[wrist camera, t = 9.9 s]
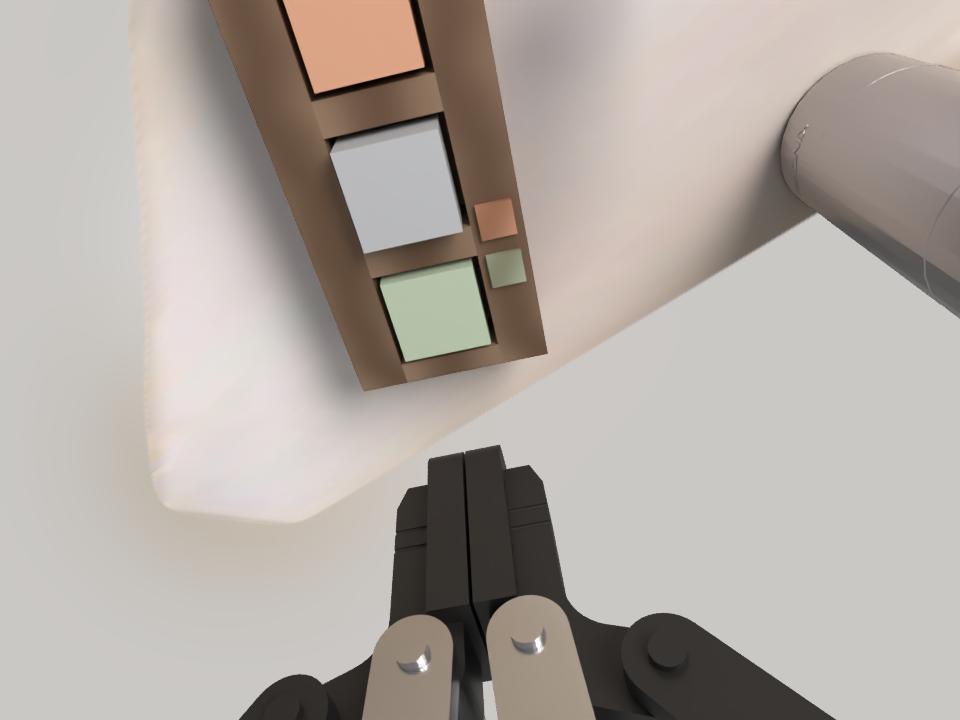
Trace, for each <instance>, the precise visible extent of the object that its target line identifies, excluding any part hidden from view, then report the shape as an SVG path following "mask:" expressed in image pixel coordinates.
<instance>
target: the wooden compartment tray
mask: <svg viewBox="0 0 960 720" xmlns="http://www.w3.org/2000/svg"><path fill="white" fill-rule="evenodd" d="M208 1H209V4H210V6H211V9H212V11H213V14H214V16H215V19H216V21H217V24H218V26H219V29H220V31H221V34H222V36H223V39H224V41H225V44H226V46H227V49H228V51H229V54H230V56H231V59H232V61H233V64H234V66H235V69H236V71H237V74H238V77H239V79H240V82H241V84H242V87H243V89H244V92H245V94H246V97H247V99H248V102H249V104H250V107H251V109H252V112H253V114H254V117H255V119H256V122H257V124H258V127H259V129H260V132H261V134H262V137H263V139H264V142H265V144H266V147H267V149H268V152H269V154H270V157H271V159H272V162H273V164H274V167H275V170H276V172H277V175H278V177H279V180H280V182H281V185H282V187H283V190H284V192H285V195H286V197H287V200H288V202H289V205H290V207H291V210H292V212H293V215H294V217H295V220H296V222H297V225H298V227H299V230H300V232H301V235H302V237H303V240H304V242H305V245H306V247H307V250H308V252H309V255H310V257H311V260H312V263H313V265H314V268H315V270H316V273H317V275H318V278H319V280H320V283H321V285H322V288H323V290H324V293H325V295H326V298H327V300H328V303H329V305H330V308H331V310H332V313H333V315H334V318H335V320H336V323H337V325H338V328H339V330H340V333H341V335H342V338H343V340H344V343H345V345H346V348H347V350H348V353H349V356H350V358H351V361H352V363H353V366H354V368H355V371H356V373H357V376H358V378H359V381H360V383H361V386H362V388H363V391H369V390H374V389H378V388H383V387H388V386H393V385H398V384H403V383H408V382H412V381H417V380H422V379H427V378H432V377H437V376H442V375H446V374H451V373H456V372H461V371H466V370H471V369H476V368H480V367H485V366H490V365H495V364H500V363H505V362H510V361H514V360H519V359H524V358H529V357H534V356H539V355H544V354H548V353H547V347H546V342H545V336H544V331H543V325H542V320H541V314H540V309H539V303H538V298H537V292H536V287H535V281H534V276H533V270H532V265H531V259H530V254H529V248H528V243H527V237H526V232H525V226H524V221H523V215H522V210H521V204H520V199H519V193H518V188H517V182H516V177H515V171H514V166H513V160H512V155H511V150H510V144H509V139H508V133H507V128H506V122H505V117H504V111H503V106H502V100H501V95H500V89H499V84H498V78H497V73H496V67H495V62H494V56H493V51H492V45H491V40H490V34H489V29H488V23H487V18H486V12H485V7H484V1H483V0H412V2H413V7H414V11H415V15H416V19H417V23H418V28H419V32H420V36H421V40H422V44H423V49H424V53H425V66H424V67H423V68H419V69H414V70H410V71H406V72H402V73H398V74H394V75H390V76H386V77H381V78H377V79H373V80H369V81H365V82H361V83H357V84H352V85H348V86H344V87H340V88H336V89H332V90H328V91H323V92H319V93H314V90H313V87H312V84H311V81H310V78H309V75H308V72H307V69H306V66H305V63H304V60H303V57H302V54H301V52H300V49H299V46H298V43H297V40H296V37H295V34H294V31H293V28H292V25H291V22H290V19H289V16H288V13H287V10H286V7H285V4H284V1H283V0H208ZM434 114H438V117H439V121H440V125H441V129H442V133H443V138H444V142H445V146H446V150H447V154H448V159H449V163H450V167H451V171H452V175H453V179H454V184H455V188H456V192H457V196H458V200H459V205H460V209H461V216H462V228H463V232H460V233H455V234H451V235H446V236H442V237H437V238H432V239H428V240H423V241H419V242H414V243H410V244H405V245H401V246H396V247H392V248H387V249H383V250H378V251H374V252H369V253H365V254H364V252H363V249H362V246H361V243H360V240H359V237H358V234H357V232H356V229H355V226H354V223H353V220H352V217H351V214H350V211H349V208H348V205H347V202H346V200H345V197H344V194H343V191H342V188H341V185H340V182H339V179H338V176H337V173H336V170H335V168H334V165H333V162H332V159H331V156H330V153H331V151H332V149H333V146H334V144H335V142H336V140H337V138H338V137H341V136H345V135H350V134H354V133H358V132H362V131H367V130H371V129H375V128H379V127H384V126H388V125H392V124H396V123H401V122H405V121H409V120H413V119H417V118H422V117H426V116H430V115H434ZM472 256H473V259H474V263H475V267H476V271H477V275H478V280H479V284H480V288H481V292H482V296H483V301H484V305H485V309H486V313H487V317H488V324H489V331H490V339H491V344H489V345H484V346H479V347H474V348H470V349H465V350H460V351H455V352H450V353H446V354H441V355H436V356H431V357H426V358H422V359H417V360H412V361H407V362H406V361H405V358H404V355H403V352H402V349H401V346H400V343H399V340H398V338H397V335H396V332H395V329H394V326H393V323H392V320H391V317H390V314H389V311H388V308H387V305H386V302H385V299H384V296H383V293H382V290H381V287H380V283H381V277H382V276H386V275H390V274H395V273H399V272H404V271H408V270H413V269H418V268H422V267H427V266H431V265H436V264H440V263H445V262H450V261H454V260H459V259H463V258H468V257H472Z"/></svg>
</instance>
